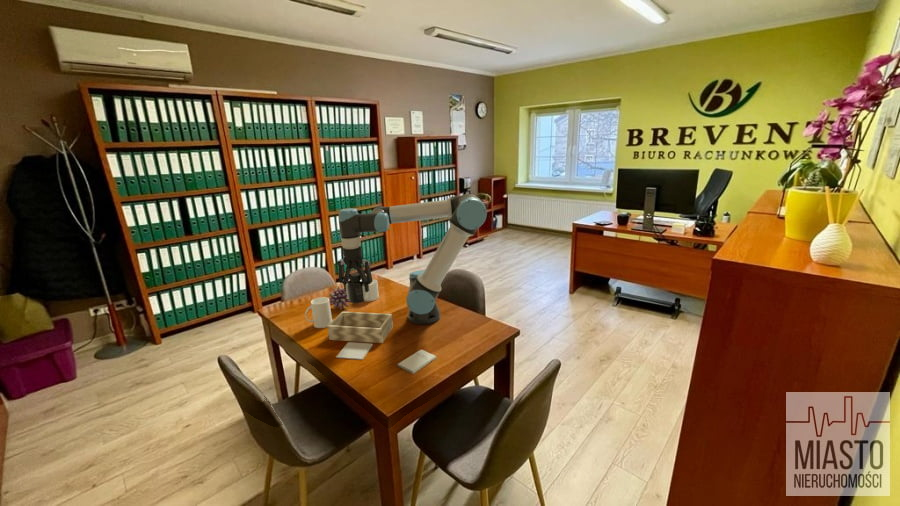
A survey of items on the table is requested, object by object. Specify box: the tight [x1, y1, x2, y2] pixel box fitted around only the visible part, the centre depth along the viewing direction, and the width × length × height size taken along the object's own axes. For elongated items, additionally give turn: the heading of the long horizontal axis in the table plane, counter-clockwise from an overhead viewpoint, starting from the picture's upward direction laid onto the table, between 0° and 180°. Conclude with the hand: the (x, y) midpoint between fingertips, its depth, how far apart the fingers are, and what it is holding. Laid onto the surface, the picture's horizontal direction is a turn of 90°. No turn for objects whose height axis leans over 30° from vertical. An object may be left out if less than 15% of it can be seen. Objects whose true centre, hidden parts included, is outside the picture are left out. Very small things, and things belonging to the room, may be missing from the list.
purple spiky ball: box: [328, 285, 351, 310], centre depth 182 cm, size 12×12×12 cm
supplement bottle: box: [348, 272, 366, 304], centre depth 152 cm, size 7×7×12 cm
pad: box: [335, 341, 374, 361], centre depth 145 cm, size 11×11×1 cm
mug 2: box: [364, 278, 380, 302], centre depth 195 cm, size 12×9×9 cm
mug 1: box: [304, 296, 333, 329], centre depth 166 cm, size 12×8×12 cm
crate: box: [326, 311, 394, 344], centre depth 158 cm, size 24×14×6 cm, turn 80°
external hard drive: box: [397, 349, 437, 375], centre depth 136 cm, size 2×8×12 cm
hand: (357, 298), depth 154 cm, fingers closed on supplement bottle, 7 cm apart
